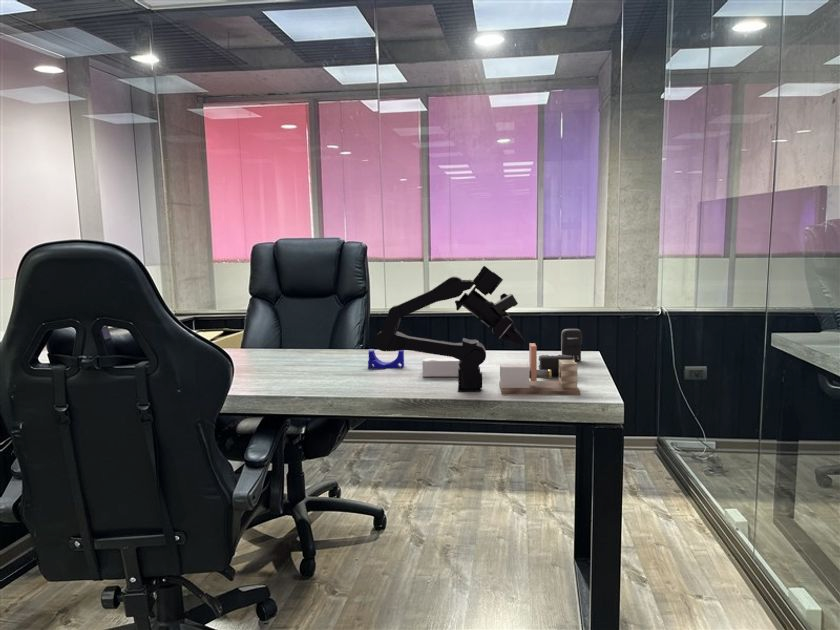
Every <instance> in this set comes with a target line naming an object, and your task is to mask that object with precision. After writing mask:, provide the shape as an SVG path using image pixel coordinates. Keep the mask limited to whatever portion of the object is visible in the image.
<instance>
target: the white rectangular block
mask: <svg viewBox="0 0 840 630" xmlns="http://www.w3.org/2000/svg"><path fill="white" fill-rule="evenodd" d="M529 381H530V378H529V363H499V387H500V386H501V388H529Z"/></svg>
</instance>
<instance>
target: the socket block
mask: <svg viewBox="0 0 840 630" xmlns="http://www.w3.org/2000/svg"><path fill="white" fill-rule="evenodd" d="M558 381H559V385H560V386H561V388H577V387H578V362H577V361H576V362H575V361H574V360H559V376H558Z"/></svg>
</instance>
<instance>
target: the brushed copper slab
mask: <svg viewBox="0 0 840 630" xmlns="http://www.w3.org/2000/svg"><path fill="white" fill-rule="evenodd" d="M537 349H538V348H537V345H536V343H535V342H534V343H531V342H529V349H528V350H529V363H528V365H529V380H530V381H538V379H552V378H553V376H552V371H551V370H540V369H537V367H538V364H537V363H538V362H537V360H538V359H537V357H538V356H537V352H538V351H537Z"/></svg>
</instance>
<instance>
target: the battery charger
mask: <svg viewBox="0 0 840 630" xmlns="http://www.w3.org/2000/svg"><path fill="white" fill-rule="evenodd" d="M560 339H561V342H560V344H561V345H560V346H561V347H560V348H561V355H571V356H572V357H573V360H574V361H576V362H581V360H582V344H583V334H582V331H581V330H580V329H579V328H565V329H563V330H562V331H561V335H560Z"/></svg>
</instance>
